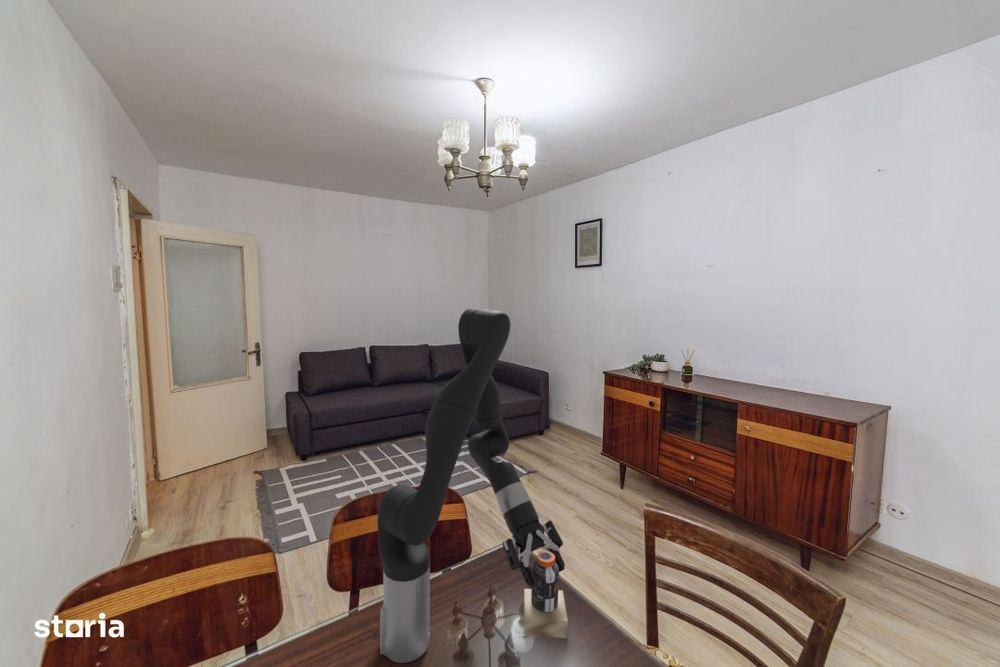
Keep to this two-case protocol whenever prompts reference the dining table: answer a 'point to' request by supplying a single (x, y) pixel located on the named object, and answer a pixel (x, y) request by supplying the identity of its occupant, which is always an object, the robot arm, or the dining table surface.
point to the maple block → (545, 619)
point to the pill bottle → (545, 582)
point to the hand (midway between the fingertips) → (548, 578)
